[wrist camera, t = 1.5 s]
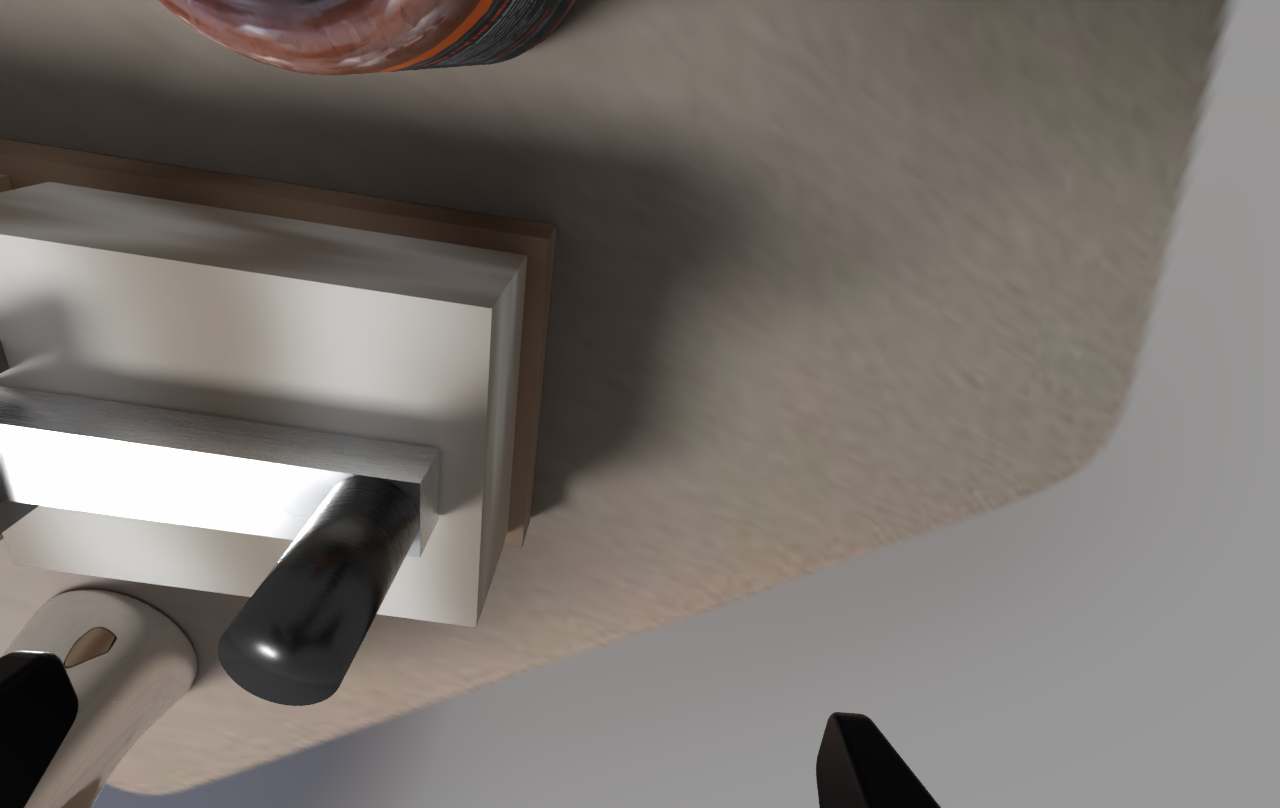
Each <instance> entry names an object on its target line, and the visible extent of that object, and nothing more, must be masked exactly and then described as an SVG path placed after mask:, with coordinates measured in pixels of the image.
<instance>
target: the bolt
mask: <svg viewBox="0 0 1280 808" xmlns="http://www.w3.org/2000/svg"><path fill="white" fill-rule="evenodd" d="M439 467H440V449H439V448H432V447H425V446H418V445H411V444H404V443H397V442H390V441H383V440H376V439H369V438H362V437H355V436H348V435H341V434H334V433H327V432H320V431H313V430H306V429H300V428H293V427H286V426H279V425H272V424H265V423H258V422H251V421H244V420H237V419H230V418H223V417H216V416H209V415H202V414H195V413H188V412H181V411H174V410H167V409H160V408H153V407H146V406H139V405H132V404H125V403H118V402H111V401H104V400H97V399H91V398H84V397H77V396H70V395H63V394H56V393H49V392H42V391H35V390H28V389H21V388H14V387H7V386H0V500H5V501H12V502H19V503H27V504H34V505H41V506H49V507H56V508H63V509H70V510H78V511H85V512H92V513H99V514H107V515H114V516H121V517H128V518H136V519H143V520H150V521H157V522H165V523H172V524H179V525H186V526H194V527H201V528H208V529H216V530H223V531H230V532H237V533H245V534H252V535H259V536H266V537H274V538H281V539H288V540H294V541H293V542H292V544H291V545H290V546H289V548H288V549H287V550H286V552H285V553H284V554H283V556H282V557H281V558H280V560H279V561H278V562H277V563H276V565H275V566H274V567H273V569H272V570H271V571H270V573H269V574H268V575H267V577H266V578H265V579H264V581H263V582H262V583H261V585H260V586H259V587H258V589H257V590H256V591H255V593H254V594H253V595H252V597H251V598H250V599H249V601H248V602H247V603H246V605H245V606H244V607H243V609H242V610H241V611H240V613H239V614H238V615H237V617H236V618H235V619H234V621H233V622H232V623H231V625H230V626H229V627H228V629H227V630H226V631H225V633H224V634H223V635H222V637H221V639H220V642H219V647H218V653H219V658H220V661H221V664H222V666H223V668H224V669H225V671H226V672H227V674H228V675H229V676H230V677H231V678H232V679H233V680H234V681H235V682H236V683H237V684H238V685H239V686H241V687H242V688H243V689H245V690H246V691H248V692H250V693H252V694H253V695H255V696H257V697H260V698H262V699H265V700H267V701H270V702H274V703H278V704H284V705H292V706H303V705H311V704H315V703H318V702H321V701H323V700H326V699H327V698H329V697H330V696H332V695H333V694H334V693H335V692H336V691H337V689H338V688H339V686H340V684H341V682H342V680H343V678H344V676H345V674H346V672H347V670H348V669H349V667H350V665H351V663H352V661H353V659H354V657H355V655H356V653H357V651H358V649H359V647H360V645H361V643H362V641H363V639H364V637H365V635H366V633H367V631H368V629H369V627H370V626H371V624H372V622H373V620H374V618H375V616H376V614H377V612H378V610H379V608H380V606H381V604H382V602H383V600H384V598H385V596H386V594H387V592H388V590H389V588H390V586H391V584H392V583H393V581H394V579H395V577H396V575H397V573H398V571H399V569H400V567H401V565H402V563H403V561H404V559H405V557H406V556H412V557H419V558H420V557H421V555H422V553H423V551H424V549H425V547H426V545H427V543H428V540H429V538H430V536H431V534H432V532H433V530H434V528H435V526H436V524H437V522H438V520H439Z"/></svg>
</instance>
